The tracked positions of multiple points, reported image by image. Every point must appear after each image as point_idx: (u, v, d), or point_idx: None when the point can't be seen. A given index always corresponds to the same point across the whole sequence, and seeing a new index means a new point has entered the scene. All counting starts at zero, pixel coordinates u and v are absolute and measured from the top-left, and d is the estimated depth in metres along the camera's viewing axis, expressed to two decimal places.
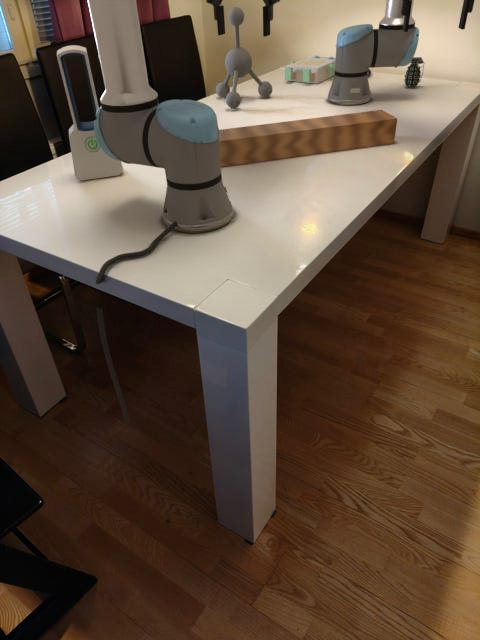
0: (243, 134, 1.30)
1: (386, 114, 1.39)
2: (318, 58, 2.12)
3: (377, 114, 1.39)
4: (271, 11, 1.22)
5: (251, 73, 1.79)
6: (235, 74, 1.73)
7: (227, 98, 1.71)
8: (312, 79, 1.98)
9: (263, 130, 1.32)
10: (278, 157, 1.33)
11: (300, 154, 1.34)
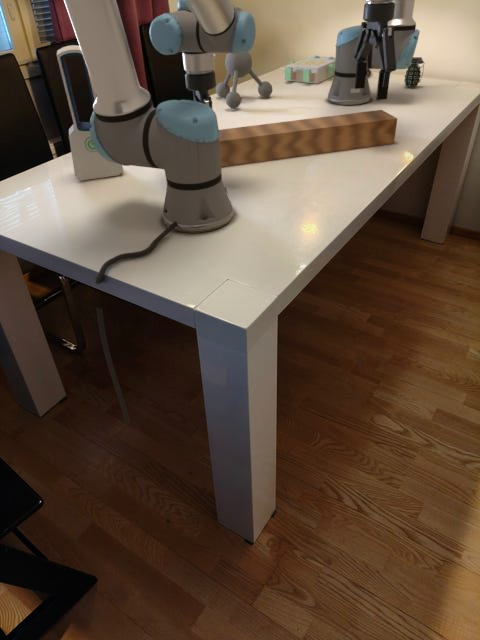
0: (243, 134, 1.30)
1: (386, 114, 1.39)
2: (318, 58, 2.12)
3: (377, 114, 1.39)
4: None
5: (251, 73, 1.79)
6: (235, 74, 1.73)
7: (227, 98, 1.71)
8: (312, 79, 1.98)
9: (263, 130, 1.32)
10: (278, 157, 1.33)
11: (300, 154, 1.34)
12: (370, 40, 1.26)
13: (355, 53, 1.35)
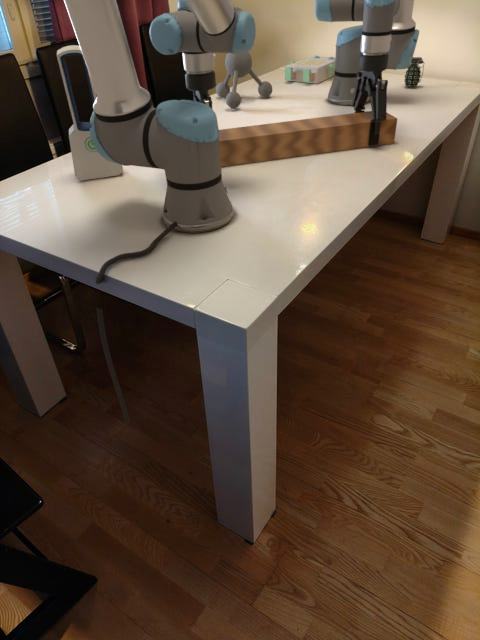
0: (243, 134, 1.30)
1: (386, 114, 1.39)
2: (318, 58, 2.12)
3: None
4: None
5: (251, 73, 1.79)
6: (235, 74, 1.73)
7: (227, 98, 1.71)
8: (312, 79, 1.98)
9: (263, 130, 1.32)
10: (278, 157, 1.33)
11: (300, 154, 1.34)
12: (365, 87, 1.33)
13: (353, 101, 1.42)
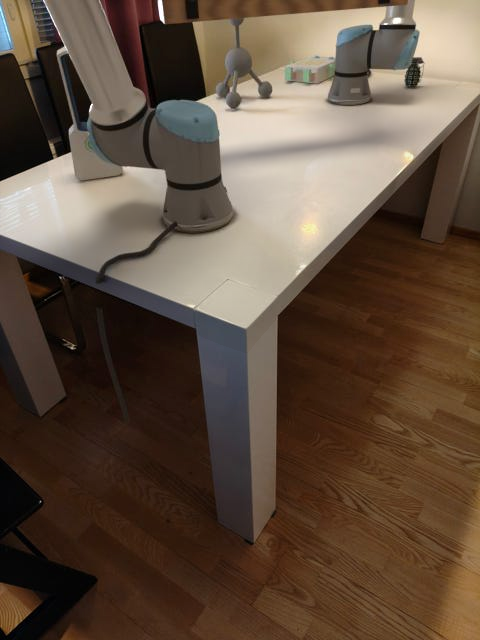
0: None
1: None
2: (318, 58, 2.12)
3: None
4: None
5: (251, 73, 1.79)
6: (235, 74, 1.73)
7: (227, 98, 1.71)
8: (312, 79, 1.98)
9: None
10: (272, 13, 1.14)
11: (298, 11, 1.15)
12: None
13: None
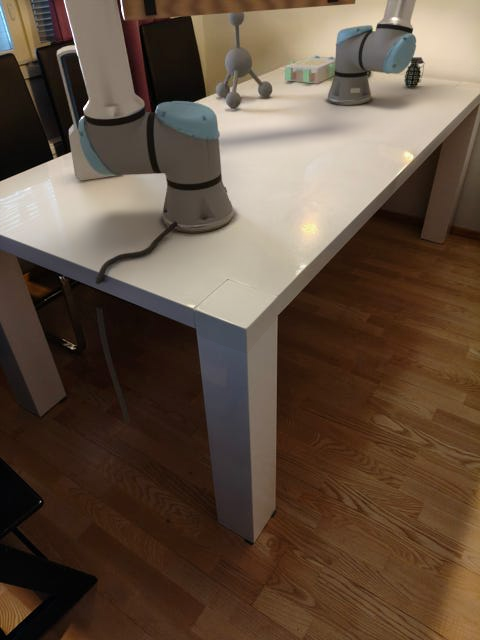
0: None
1: None
2: (318, 58, 2.12)
3: None
4: None
5: (251, 73, 1.79)
6: (235, 74, 1.73)
7: (227, 98, 1.71)
8: (312, 79, 1.98)
9: None
10: (227, 11, 1.22)
11: (251, 9, 1.23)
12: None
13: None
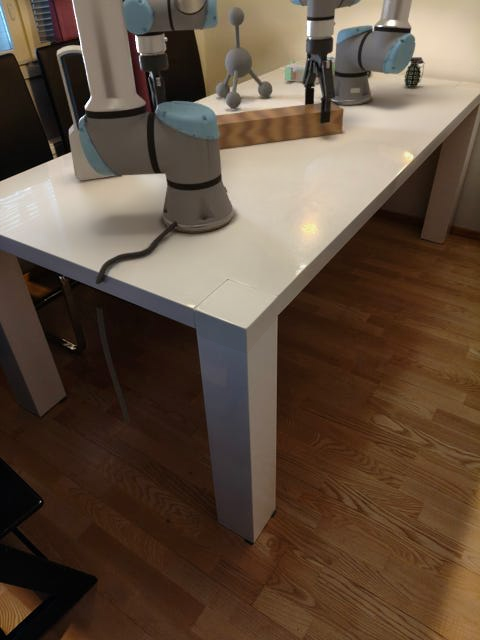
0: None
1: (334, 105, 1.48)
2: None
3: None
4: None
5: (251, 73, 1.79)
6: (235, 74, 1.73)
7: (227, 98, 1.71)
8: None
9: (217, 120, 1.42)
10: (232, 145, 1.43)
11: (252, 142, 1.44)
12: (314, 70, 1.41)
13: (303, 79, 1.50)
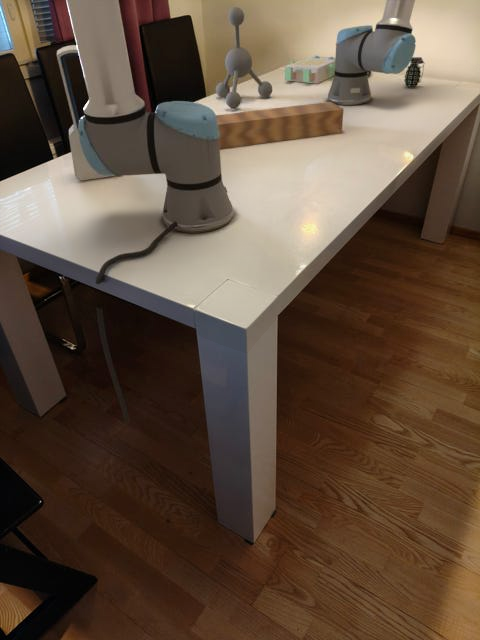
0: None
1: (334, 105, 1.48)
2: (318, 58, 2.12)
3: (326, 105, 1.48)
4: None
5: (251, 73, 1.79)
6: (235, 74, 1.73)
7: (227, 98, 1.71)
8: (312, 79, 1.98)
9: (217, 120, 1.42)
10: (232, 145, 1.43)
11: (252, 142, 1.44)
12: None
13: None
